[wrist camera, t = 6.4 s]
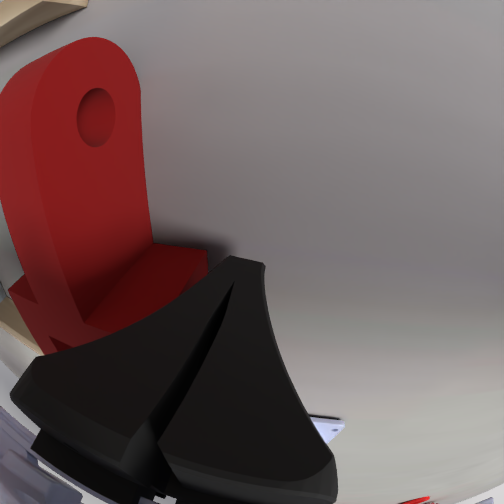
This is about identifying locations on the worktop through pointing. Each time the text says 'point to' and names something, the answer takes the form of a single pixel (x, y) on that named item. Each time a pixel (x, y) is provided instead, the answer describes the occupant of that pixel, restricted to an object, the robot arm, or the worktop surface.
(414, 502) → the tow hook
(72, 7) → the tray
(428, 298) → the worktop surface
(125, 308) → the mechanical linkage
